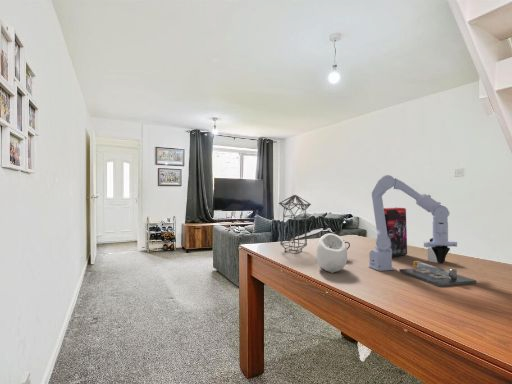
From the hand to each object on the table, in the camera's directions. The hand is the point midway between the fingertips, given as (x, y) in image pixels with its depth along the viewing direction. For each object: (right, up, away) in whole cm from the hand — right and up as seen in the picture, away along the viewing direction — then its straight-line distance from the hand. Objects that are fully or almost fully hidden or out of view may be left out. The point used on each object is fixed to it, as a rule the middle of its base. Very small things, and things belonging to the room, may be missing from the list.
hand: (440, 263), depth 126 cm
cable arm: (-6, -3, -5) cm, 8 cm away
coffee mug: (-36, -5, +31) cm, 48 cm away
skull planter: (-46, -5, +8) cm, 47 cm away
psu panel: (-6, -5, -5) cm, 9 cm away
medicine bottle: (+13, -5, +23) cm, 27 cm away
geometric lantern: (-58, -5, +47) cm, 75 cm away
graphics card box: (-4, -5, +37) cm, 37 cm away
